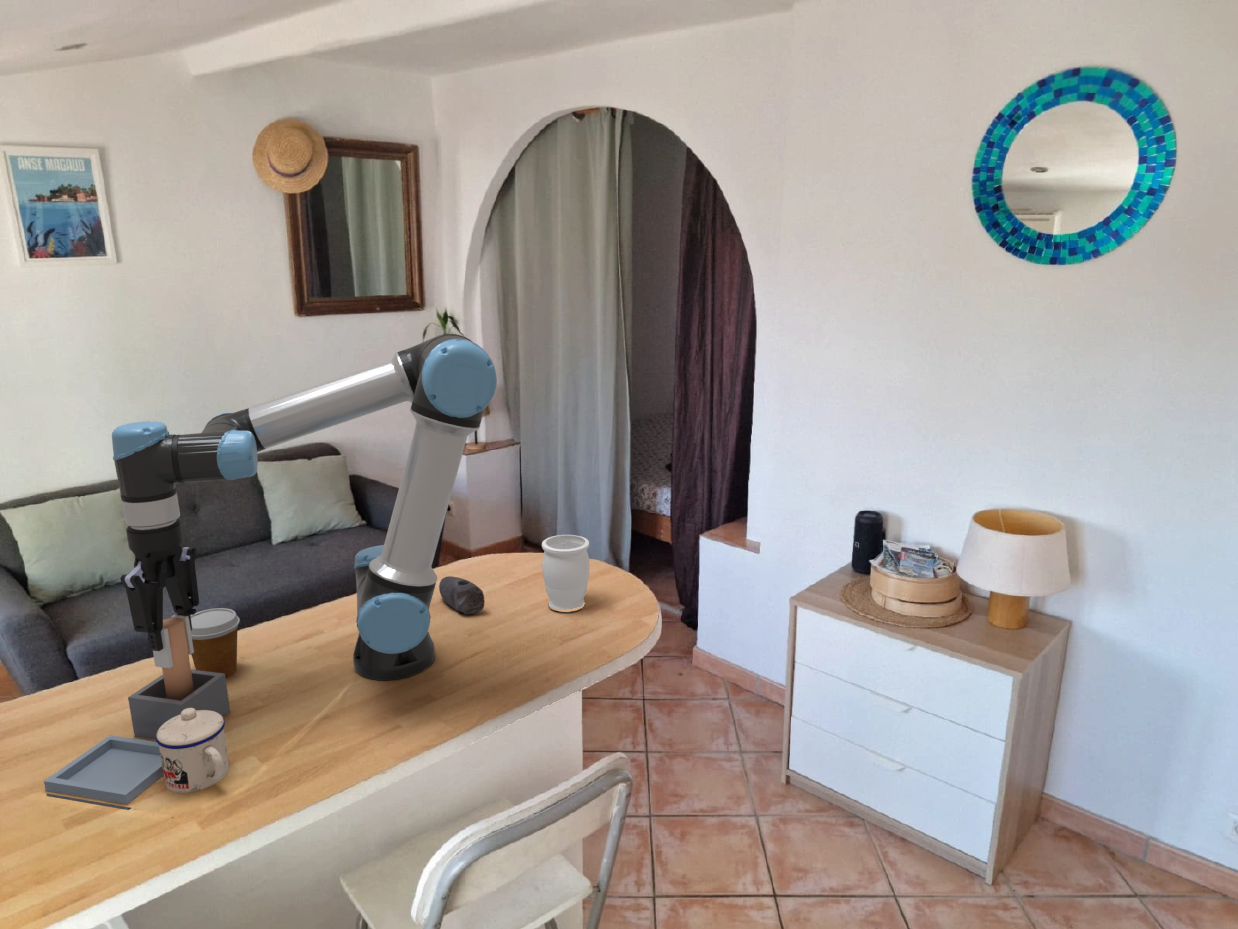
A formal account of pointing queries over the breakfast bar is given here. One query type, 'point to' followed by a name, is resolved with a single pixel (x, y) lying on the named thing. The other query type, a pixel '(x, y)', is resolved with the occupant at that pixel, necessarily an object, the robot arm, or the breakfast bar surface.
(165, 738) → the teacup with lid
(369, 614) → the robot arm
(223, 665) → the disposable coffee cup
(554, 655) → the breakfast bar surface
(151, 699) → the open square box
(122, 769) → the tray
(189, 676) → the dowel
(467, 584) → the perforated stone tool
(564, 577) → the jar
